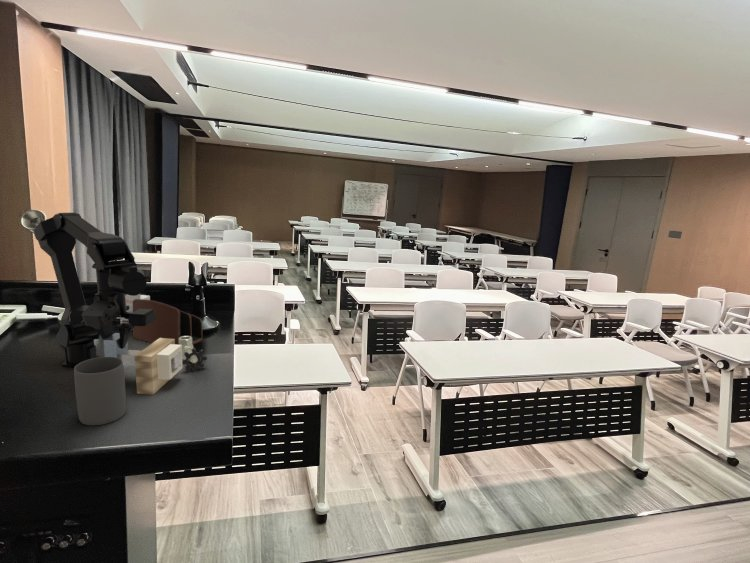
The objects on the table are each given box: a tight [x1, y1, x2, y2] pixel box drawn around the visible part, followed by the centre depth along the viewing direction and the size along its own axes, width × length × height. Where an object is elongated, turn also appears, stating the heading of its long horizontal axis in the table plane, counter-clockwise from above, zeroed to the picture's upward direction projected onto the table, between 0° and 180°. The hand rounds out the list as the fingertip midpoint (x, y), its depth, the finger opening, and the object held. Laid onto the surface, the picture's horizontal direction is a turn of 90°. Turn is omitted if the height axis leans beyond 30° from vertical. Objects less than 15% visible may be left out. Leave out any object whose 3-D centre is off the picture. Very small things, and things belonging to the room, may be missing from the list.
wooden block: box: [134, 338, 175, 396], centre depth 110 cm, size 4×12×10 cm, turn 179°
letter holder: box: [132, 299, 204, 346], centre depth 139 cm, size 10×20×14 cm, turn 68°
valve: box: [179, 336, 208, 372], centre depth 123 cm, size 7×7×12 cm
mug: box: [73, 356, 127, 426], centre depth 96 cm, size 14×9×12 cm
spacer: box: [157, 344, 184, 381], centre depth 110 cm, size 3×7×6 cm, turn 0°
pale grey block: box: [102, 332, 181, 371], centre depth 110 cm, size 17×5×9 cm, turn 89°
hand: (116, 347), depth 109 cm, fingers open, 3 cm apart
